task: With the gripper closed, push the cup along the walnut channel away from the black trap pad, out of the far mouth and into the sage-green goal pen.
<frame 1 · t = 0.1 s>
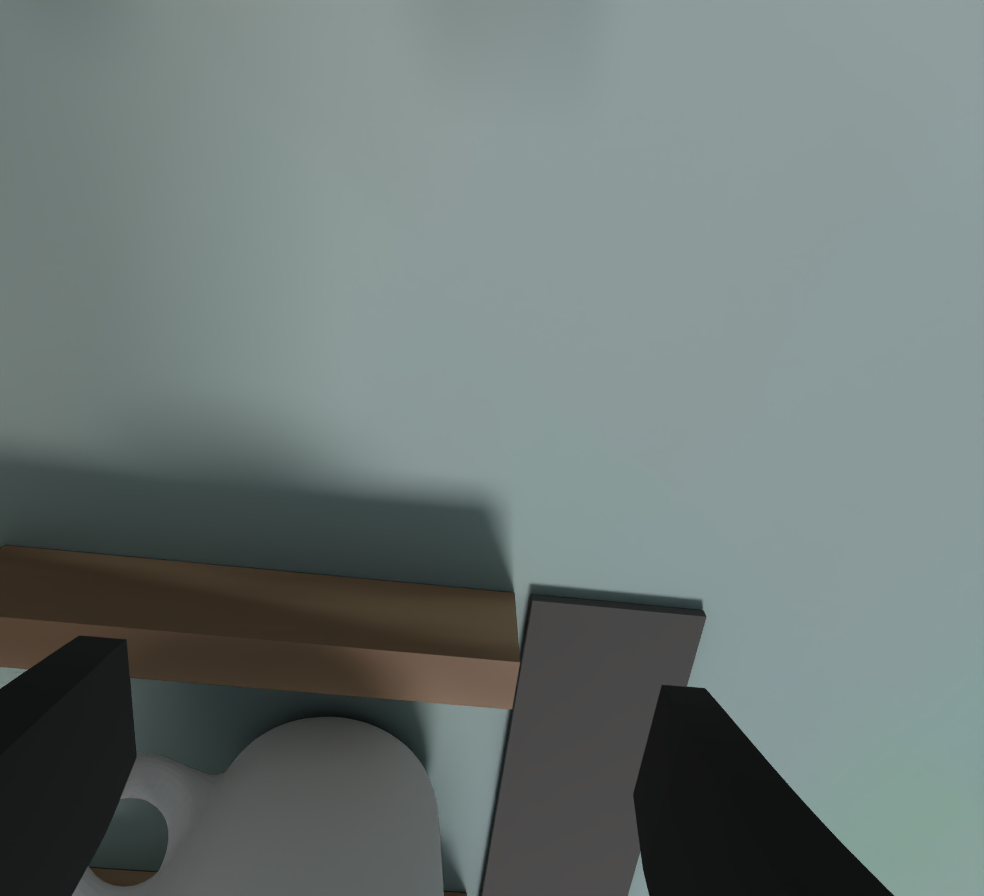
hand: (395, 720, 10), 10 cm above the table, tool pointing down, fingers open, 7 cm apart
cup: (297, 755, 24), on the table
trap pad: (577, 783, 24), on the table
channel: (263, 758, 24), on the table
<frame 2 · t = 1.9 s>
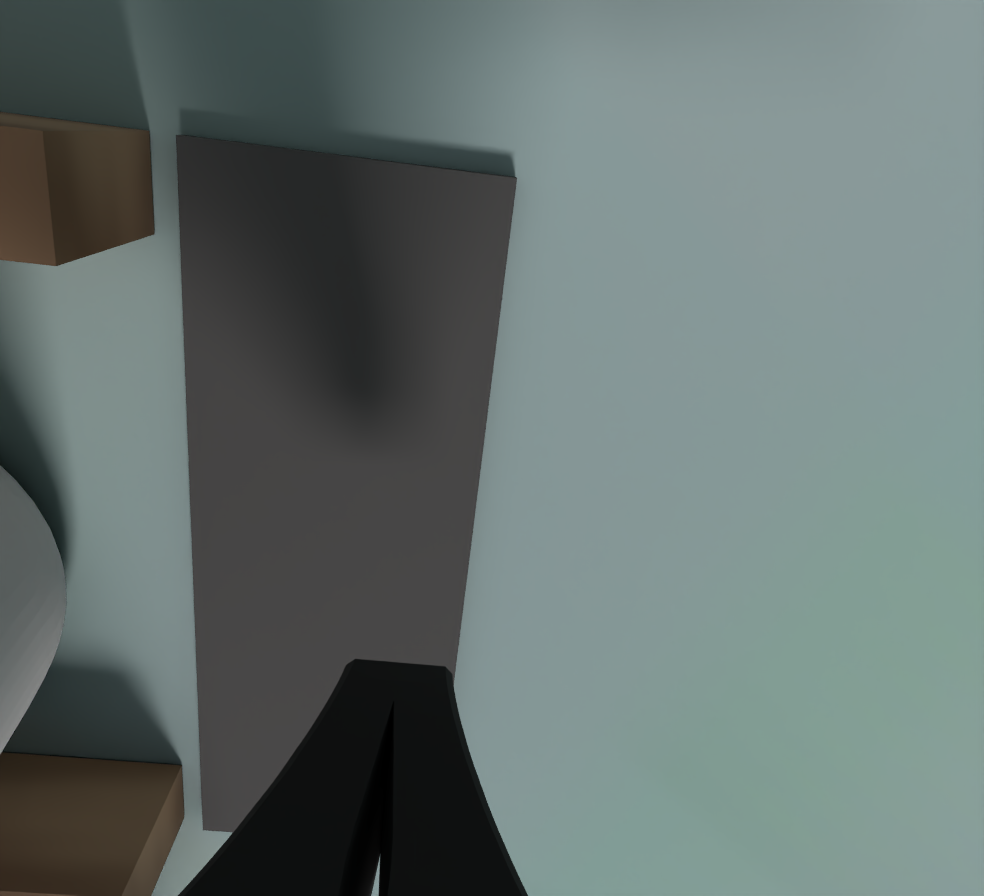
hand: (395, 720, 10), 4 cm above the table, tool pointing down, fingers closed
trap pad: (334, 555, 14), on the table
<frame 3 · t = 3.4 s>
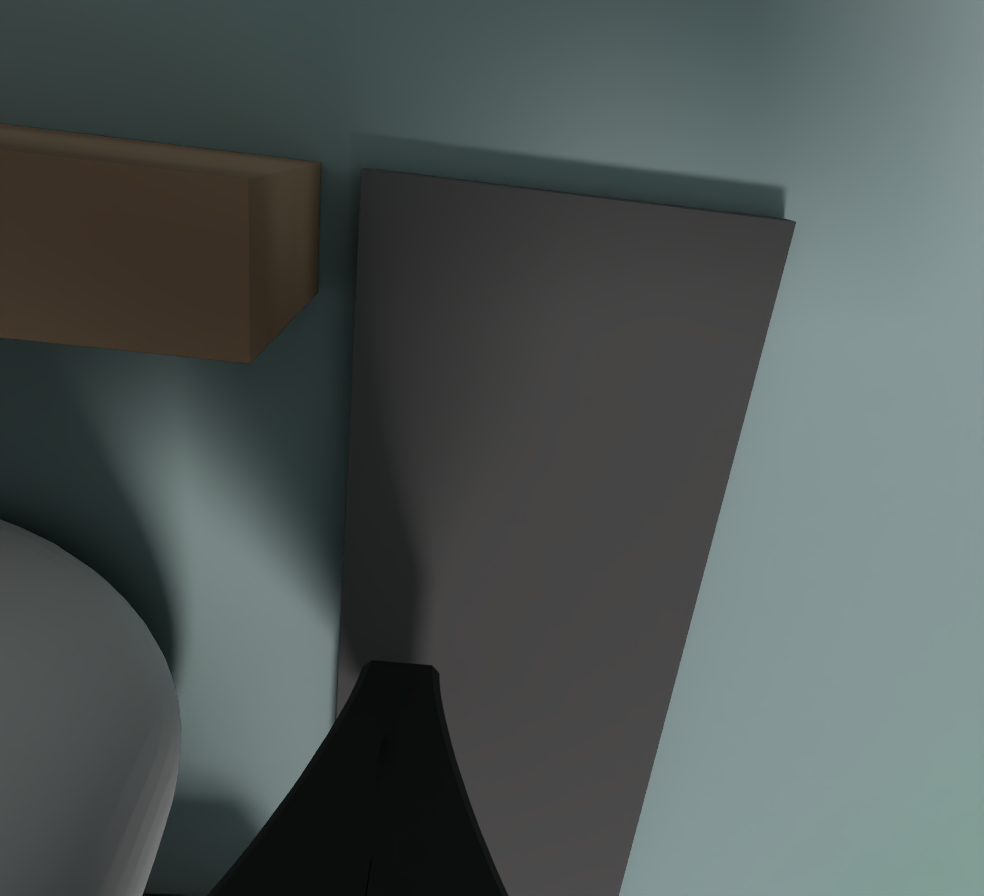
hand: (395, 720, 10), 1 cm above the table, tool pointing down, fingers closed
trap pad: (506, 672, 12), on the table
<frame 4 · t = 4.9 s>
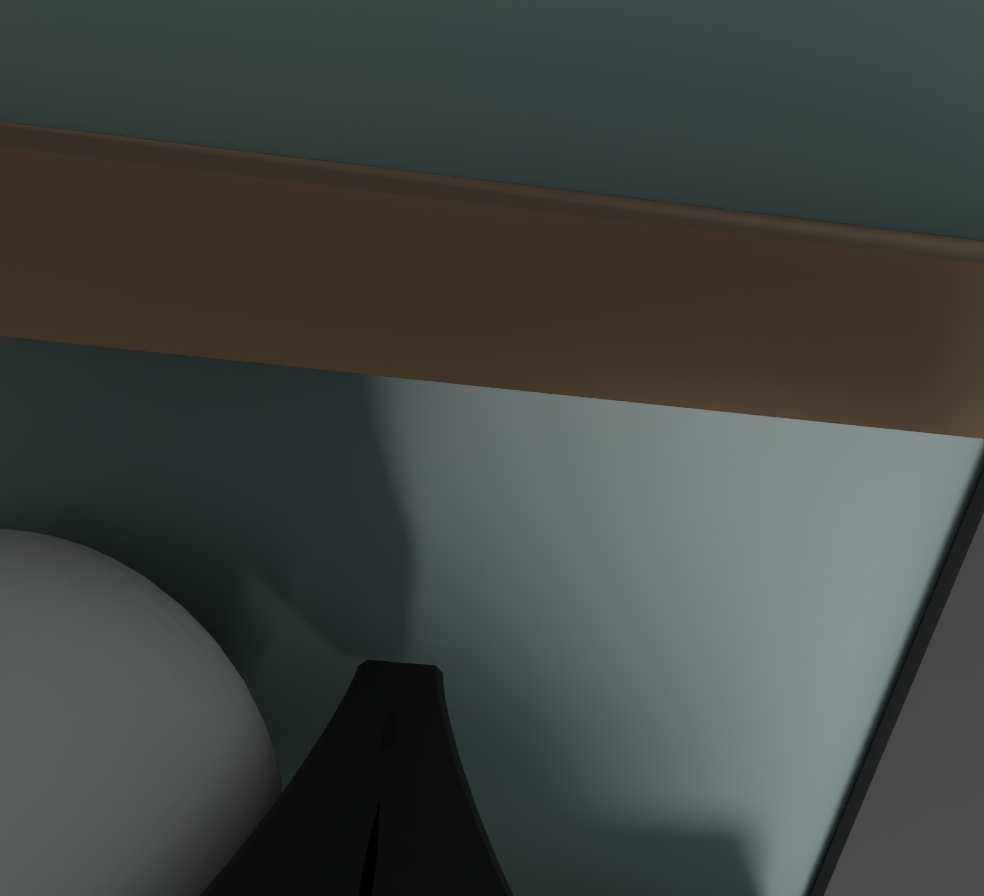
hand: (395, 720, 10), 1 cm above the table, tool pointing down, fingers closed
cup: (45, 646, 11), on the table, touching gripper
channel: (413, 664, 11), on the table
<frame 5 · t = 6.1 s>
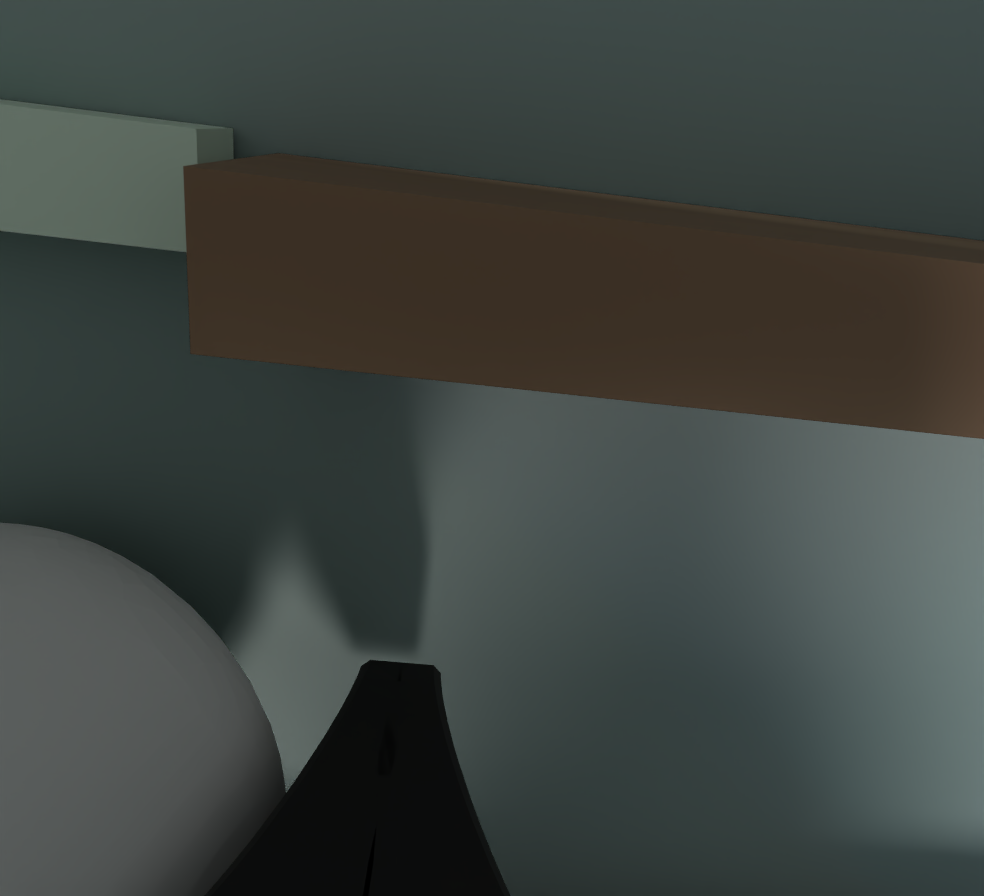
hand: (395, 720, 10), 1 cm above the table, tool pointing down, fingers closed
cup: (47, 639, 11), on the table, touching gripper
channel: (730, 689, 12), on the table
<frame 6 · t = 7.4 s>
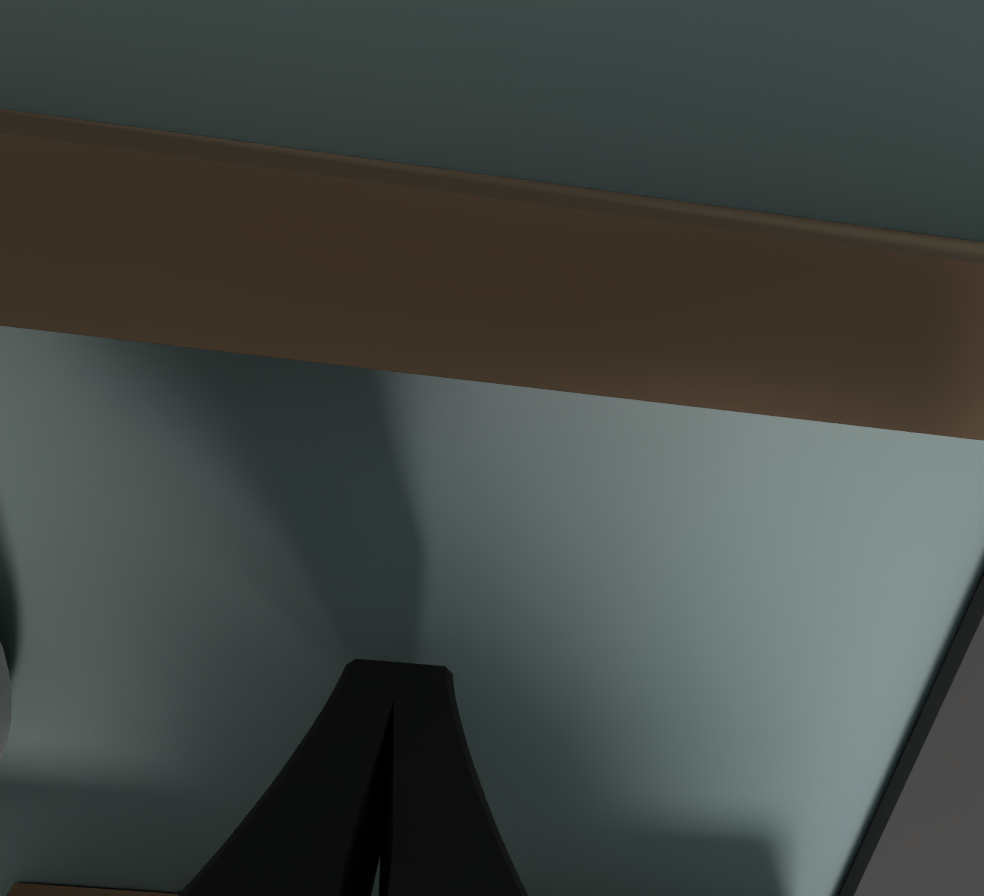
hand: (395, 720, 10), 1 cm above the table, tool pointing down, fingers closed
channel: (450, 665, 11), on the table
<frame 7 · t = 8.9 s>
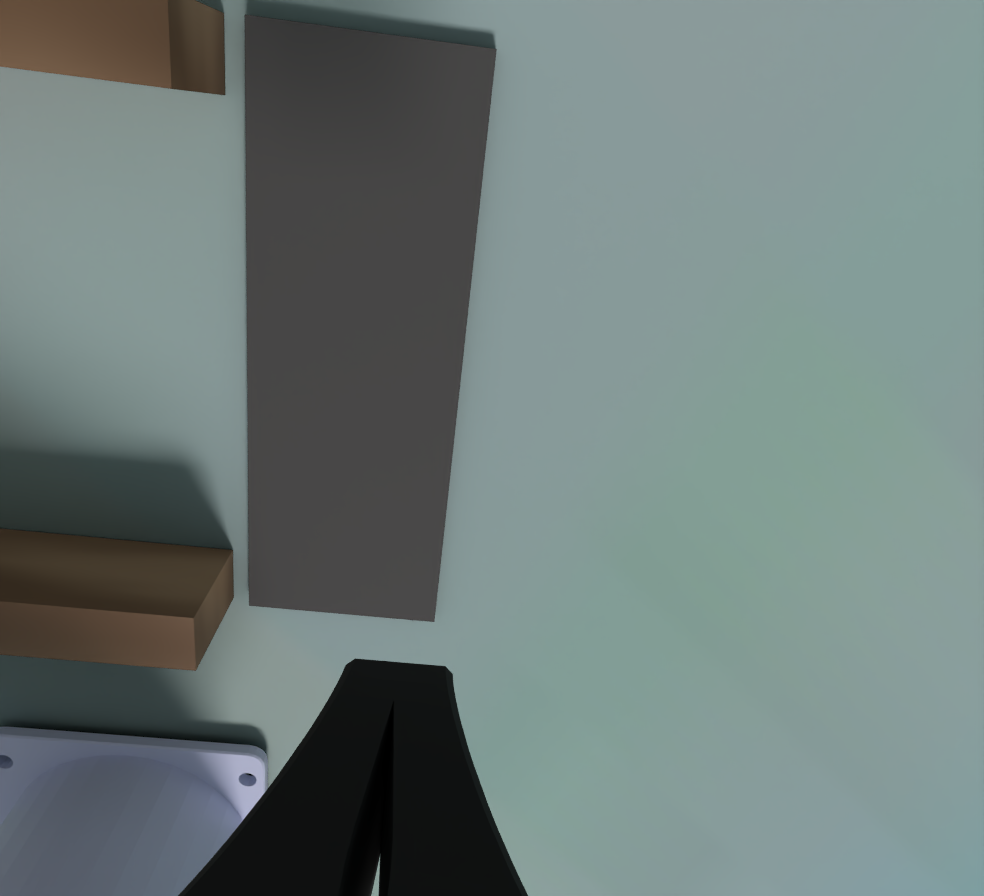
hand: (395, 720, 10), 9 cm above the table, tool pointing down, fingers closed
trap pad: (356, 363, 18), on the table
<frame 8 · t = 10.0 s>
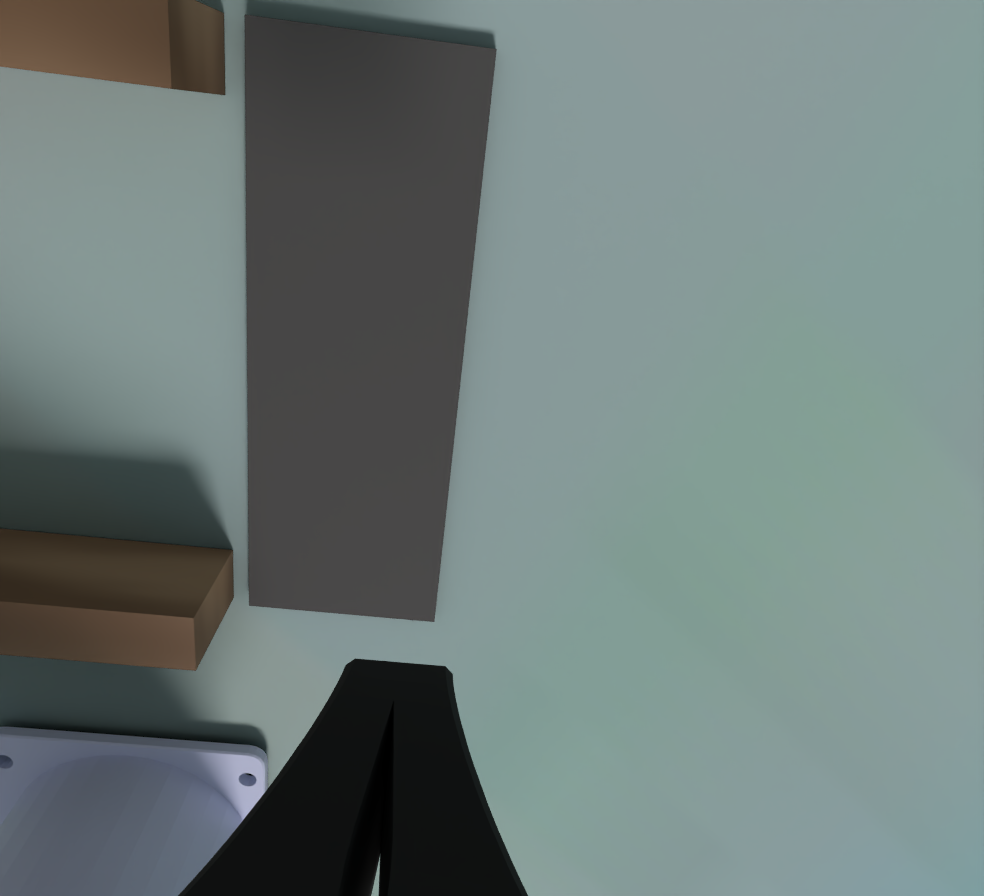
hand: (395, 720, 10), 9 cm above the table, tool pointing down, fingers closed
trap pad: (356, 363, 18), on the table
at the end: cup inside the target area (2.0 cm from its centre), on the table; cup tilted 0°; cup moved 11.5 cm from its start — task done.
